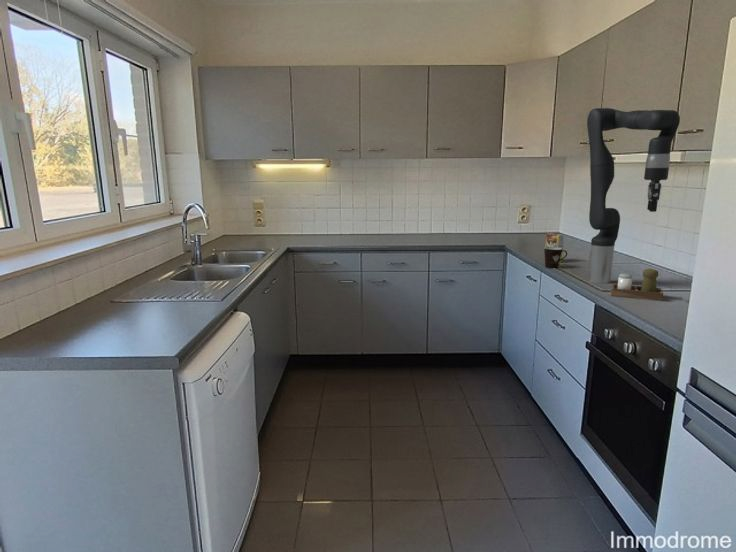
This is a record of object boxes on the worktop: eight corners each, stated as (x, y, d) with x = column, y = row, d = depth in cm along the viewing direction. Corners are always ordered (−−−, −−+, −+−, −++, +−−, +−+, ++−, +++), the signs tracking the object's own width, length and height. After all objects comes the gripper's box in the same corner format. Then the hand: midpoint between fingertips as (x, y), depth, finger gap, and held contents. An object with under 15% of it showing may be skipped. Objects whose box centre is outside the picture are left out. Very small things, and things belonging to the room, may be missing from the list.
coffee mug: (543, 268, 237) (544, 249, 234) (542, 265, 245) (543, 246, 242) (567, 269, 233) (569, 250, 231) (565, 266, 241) (567, 247, 239)
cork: (657, 296, 179) (661, 268, 176) (655, 299, 174) (659, 271, 172) (639, 294, 182) (643, 267, 180) (637, 297, 178) (640, 269, 175)
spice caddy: (610, 293, 188) (611, 283, 187) (659, 297, 180) (660, 288, 179) (610, 298, 180) (611, 288, 179) (662, 303, 172) (663, 293, 172)
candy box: (543, 260, 257) (545, 233, 254) (549, 259, 259) (551, 233, 256) (556, 263, 249) (558, 235, 246) (562, 262, 251) (564, 234, 248)
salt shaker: (616, 292, 185) (618, 272, 183) (630, 293, 183) (632, 273, 181) (616, 295, 181) (619, 275, 179) (630, 296, 179) (633, 276, 177)
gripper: (671, 166, 162) (665, 212, 166) (666, 166, 174) (661, 209, 178) (647, 166, 165) (641, 212, 169) (643, 167, 178) (638, 209, 181)
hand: (651, 210), depth 173 cm, fingers open, 8 cm apart
